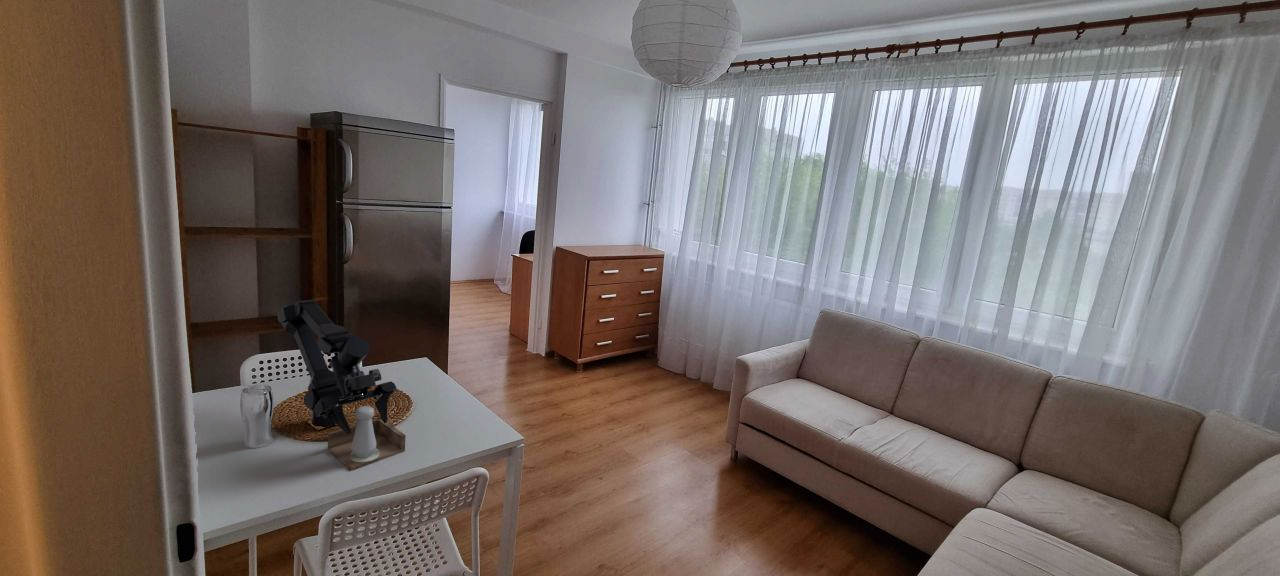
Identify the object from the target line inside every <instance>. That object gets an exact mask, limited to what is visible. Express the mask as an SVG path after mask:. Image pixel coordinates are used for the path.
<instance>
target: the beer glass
mask: <svg viewBox="0 0 1280 576" xmlns="http://www.w3.org/2000/svg"><path fill="white" fill-rule="evenodd" d="M274 402H275V401H274V391H273V386H272V385H270V384H266V383H260V384H259V383H257V384H252V385H248V386H245V387H244V388H241V390H240V399H239V404H240V405H239V408H240V415H241V418H242V423H243V426H244V433H245V435H244V440H243V445H244V447H246V448H248V449H259V448H263V447H265V446H268V445H270V444H272V442H273V436H272V433H271V432H272V431H271V423H272V419H273V415H274V414H273V413H274V408H275V405H274V404H275V403H274Z"/></svg>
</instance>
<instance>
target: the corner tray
mask: <svg viewBox="0 0 1280 576" xmlns="http://www.w3.org/2000/svg"><path fill="white" fill-rule="evenodd" d="M372 424H373V429H374V434H375V439H376V449H375V451H374V453H373V454H372V455H371V456H369V457H368V458H358V457H356V456H355V455H354V453H353V451H352V449H351V447H352V443H353V439H354V434H355V429H356V425H357V423H356V424H354V425H349V427H350V431H351V434H349V435H348V434H347V433H346V432H344V431H343V430H342V429H341V428H339V429H337V430H333V431H331V432H327V450H328V451H329V453H331V454H332V455H333V456H335V457H336V458H337V459H338V460H339V461H340V462H341V463H342V464H343V465H344V466H346V467H347V468H348V469H349V470H350V471H354V470H357V469H359V468H362V467H365V466H368V465H371V464H374V463H377V462H379V461H381V460H384V459H387V458H389V457H392V456H396V455H398V453H399V454H401V453H404V452H405V451H406V434H405V433H403V432H402V431H400V430H399V429H398V428H397V427H395V426H394V425H392V424H391V423H389V422H388V421H387V423H384V422H383V421H382V419H381V417H377V418H374V419H373V418H372Z"/></svg>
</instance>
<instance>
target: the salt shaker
mask: <svg viewBox="0 0 1280 576" xmlns="http://www.w3.org/2000/svg"><path fill="white" fill-rule="evenodd" d="M354 414H355V415H354V416H355V418H356V420H357V421H356V424H357V425H356V424H355V425H356V429H355V434H354V439H353V443H352V447H351V449H352V451H353V453H354V455H355V456H356V457H358V458H368V457H369V456H371V455H372V454H373V453H374V451H375V449H376V439H375V434H374V429H373V424H372V420H373V417H374V416H375V409H374V408H373V407H372V406H370V405H369V406H368V405H363V406H359V407H358V408H356V410H355V413H354Z"/></svg>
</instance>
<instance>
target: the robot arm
mask: <svg viewBox="0 0 1280 576" xmlns="http://www.w3.org/2000/svg"><path fill="white" fill-rule="evenodd" d="M277 321H278V322H279V323H280V324H281V326H282V328H283V330H284V331H285V332H286V333H288V334H290V335H291V336H293V337H294V340H295V342H296V344H297V347H298V350H299V352H300V354H301V355H300V356H301V357H302V359H303V362H304V364H305V368H306V369H307V372H308V374H309V377H310V380H309V383H308V386H307V392H306V394H305V395H304V396H303V397H302V398H303V405H304V406H305V407H306V408H308V409H309V410H310V411H311V419H312V424H313V425H315V426H322V427H328V426H331V425H335V424H337V425H335V426H338V427H339V429H342V430H343V431H344V432H346V433H347V434H348V435H349V434H351V431H350V427H349V426H350V425H349V423H348V421H347V417H346V416H345V414H344V409H343V408H344V407H343V406H345V405H349V404H352V403H356V402H361V401H364V400H368V399H372V398H373V399H374V400H375V402H374V405H375V407H376V410H377V412H378V414H379V416H380V417H381V419H382V421H383V422H384V423H387V422H388V404H389V398H391V397H392V396H393V395H394V393H395V392H396V391H397V390H398V388H397V385H396V383H394V382H393V381H386V382H383V383H382V382H381V383H379V384H378V385H377V383H376V382H379V381H382V374H381V371H380V369H379V368H374V369H370V370H369V371H368V374H365V373H364V371H363V370H360V367H359V365H360V364H361V363H362V361H363V360H364V359H365V358H366V356H368V354H369V353H370V351H371V346H370V343H369V342H368V341H367V340H366V339H364V338H362V337H359V336H358V333H353V334H352V333H351V332H350V331H349V330H348V329H347V328H345V327H344V326H342V325H337V324H335V323H334V322H333V321H332V320H331V319H330V317H328V315H327V314H326V312H324V311H323V310H322V309H321V307H320V306H319V303H318V301H317V300H314V299H309V300H301V301H299V300H298V301H297V302H295V303H293V304H290V305H285V306H284V305H283V306H282V307H281V309H280V310H278V312H277ZM316 336H317V338H316ZM335 353H336V354H335ZM330 354H331V355H332V354H335V355H332V356H331V357H330V361H329V363H328V364H327V362H326V360H325V357H324V355H330ZM328 366H329V367H328ZM330 368H332V370H333V371H332V370H330ZM376 385H377V386H376ZM375 386H376V387H375ZM372 387H375V388H374V389H371V388H372ZM370 389H371V390H370ZM380 417H379V418H380ZM311 419H308V420H309V421H310V420H311ZM328 428H329V427H328Z"/></svg>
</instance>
